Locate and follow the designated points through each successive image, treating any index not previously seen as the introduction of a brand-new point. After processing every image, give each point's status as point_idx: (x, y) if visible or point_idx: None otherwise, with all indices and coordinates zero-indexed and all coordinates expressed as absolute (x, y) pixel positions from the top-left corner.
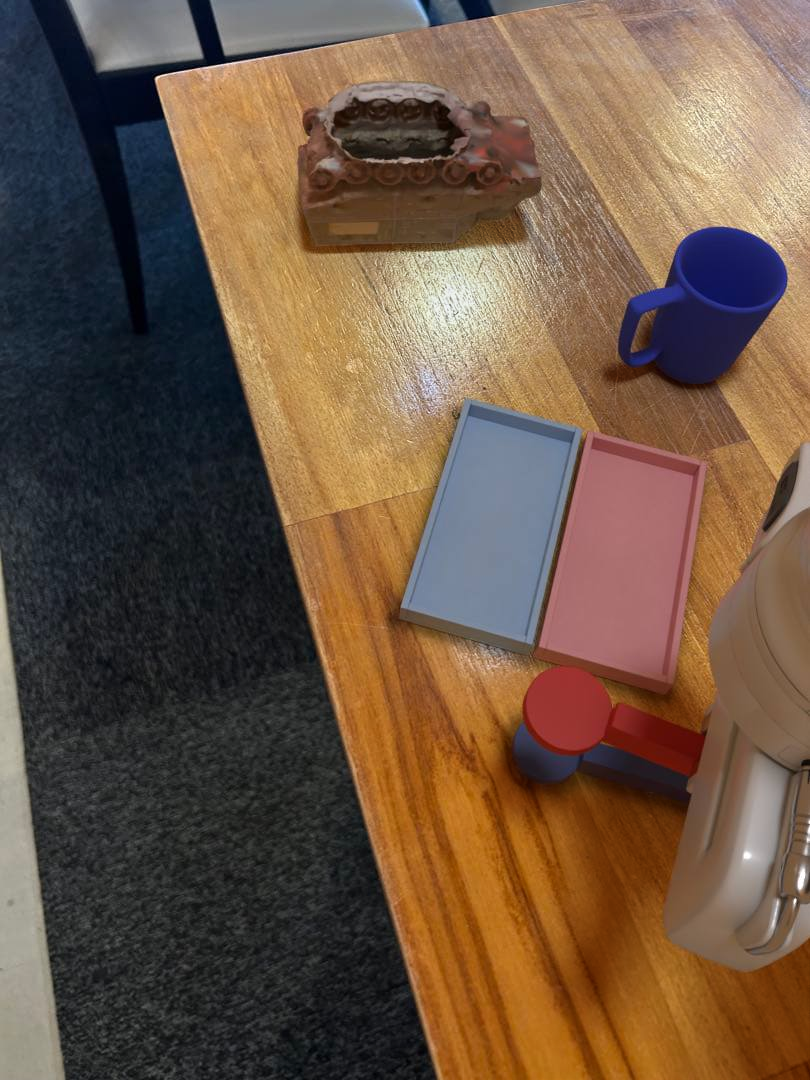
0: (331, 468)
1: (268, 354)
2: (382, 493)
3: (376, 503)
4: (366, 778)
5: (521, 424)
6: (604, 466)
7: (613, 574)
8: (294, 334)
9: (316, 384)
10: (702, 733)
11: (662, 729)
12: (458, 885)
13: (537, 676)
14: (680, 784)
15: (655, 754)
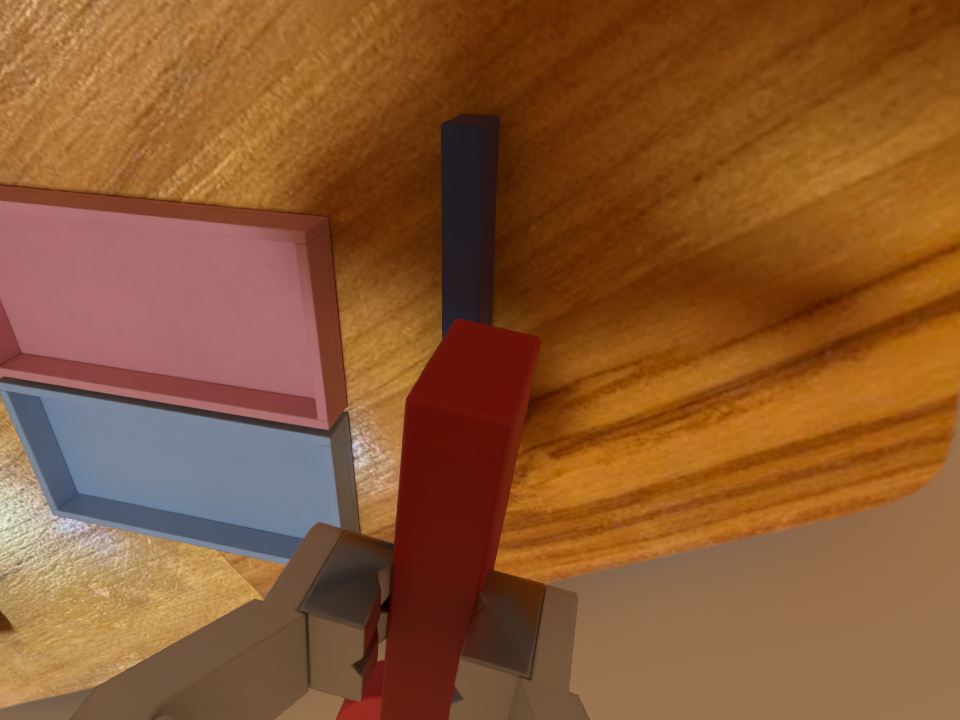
0: (223, 607)
1: (138, 655)
2: (223, 564)
3: (238, 570)
4: (564, 575)
5: (45, 445)
6: (33, 331)
7: (179, 311)
8: (104, 636)
9: (142, 619)
10: (384, 636)
11: (410, 714)
12: (684, 482)
13: None
14: (473, 218)
15: None
